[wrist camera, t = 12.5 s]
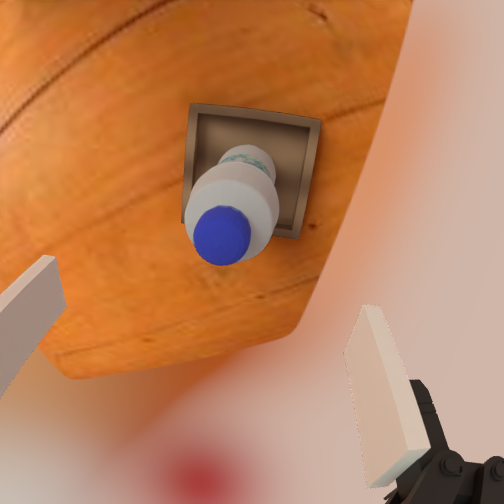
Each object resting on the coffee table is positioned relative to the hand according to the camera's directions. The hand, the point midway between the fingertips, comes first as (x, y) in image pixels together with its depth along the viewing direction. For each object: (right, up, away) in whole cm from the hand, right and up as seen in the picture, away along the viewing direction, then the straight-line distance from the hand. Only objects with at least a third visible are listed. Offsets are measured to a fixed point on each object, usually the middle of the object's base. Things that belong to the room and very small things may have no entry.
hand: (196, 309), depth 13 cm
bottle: (+2, +12, +23) cm, 26 cm away
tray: (+2, +12, +24) cm, 27 cm away
